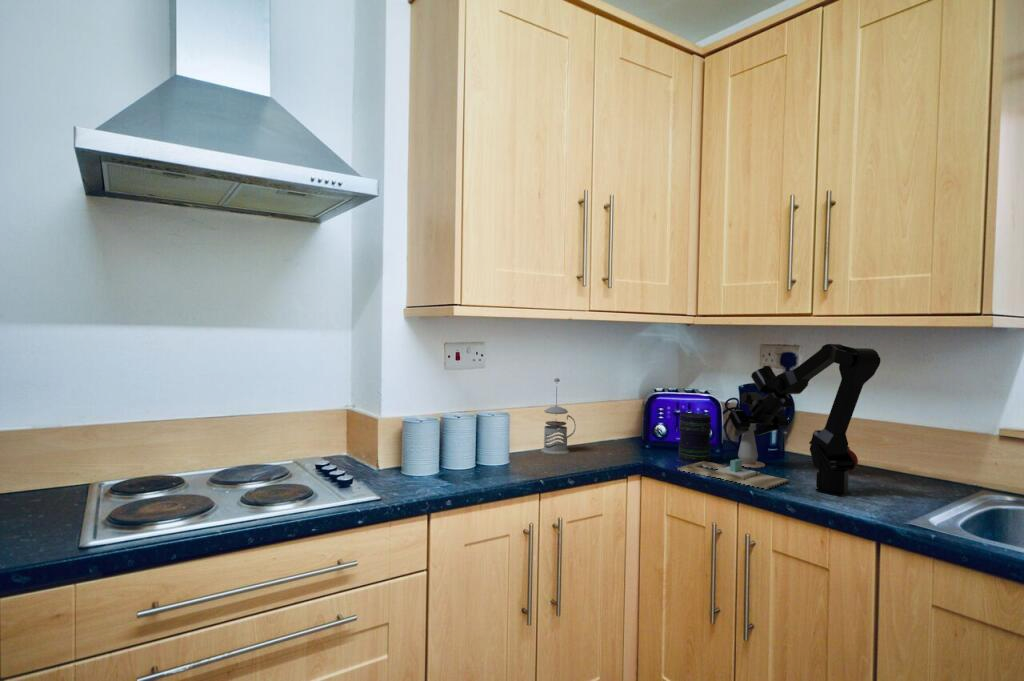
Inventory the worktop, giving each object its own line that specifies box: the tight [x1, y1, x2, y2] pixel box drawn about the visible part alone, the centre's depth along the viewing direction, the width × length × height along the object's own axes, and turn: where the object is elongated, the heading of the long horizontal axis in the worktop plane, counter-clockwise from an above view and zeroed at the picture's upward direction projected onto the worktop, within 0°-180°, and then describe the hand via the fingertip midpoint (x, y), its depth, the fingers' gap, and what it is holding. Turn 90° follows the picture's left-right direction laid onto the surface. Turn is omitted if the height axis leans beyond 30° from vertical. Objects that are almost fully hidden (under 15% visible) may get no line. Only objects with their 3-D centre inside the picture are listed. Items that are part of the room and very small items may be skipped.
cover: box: [715, 458, 757, 478], centre depth 166 cm, size 8×8×4 cm
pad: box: [742, 460, 766, 469], centre depth 184 cm, size 10×10×1 cm
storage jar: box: [678, 412, 712, 464], centre depth 187 cm, size 10×10×15 cm
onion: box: [847, 446, 859, 473], centre depth 175 cm, size 6×6×8 cm
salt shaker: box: [737, 424, 759, 465], centre depth 184 cm, size 6×6×13 cm
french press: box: [540, 377, 576, 455], centre depth 198 cm, size 10×12×25 cm
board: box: [677, 461, 789, 490], centre depth 168 cm, size 27×13×2 cm, turn 42°
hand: (745, 435), depth 185 cm, fingers open, 7 cm apart
